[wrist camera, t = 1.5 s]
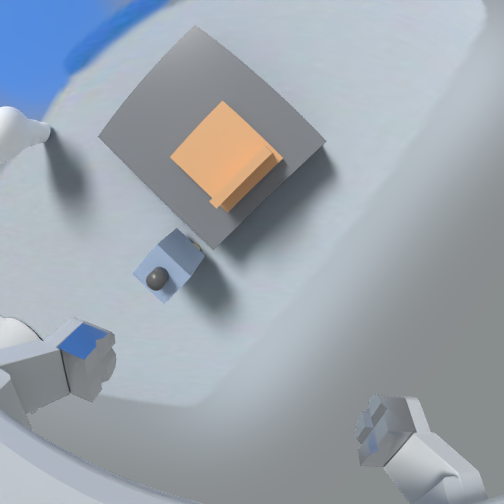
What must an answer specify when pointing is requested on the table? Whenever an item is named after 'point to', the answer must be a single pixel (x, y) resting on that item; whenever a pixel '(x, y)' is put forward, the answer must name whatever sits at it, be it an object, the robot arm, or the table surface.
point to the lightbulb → (19, 133)
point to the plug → (169, 265)
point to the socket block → (190, 116)
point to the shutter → (225, 157)
